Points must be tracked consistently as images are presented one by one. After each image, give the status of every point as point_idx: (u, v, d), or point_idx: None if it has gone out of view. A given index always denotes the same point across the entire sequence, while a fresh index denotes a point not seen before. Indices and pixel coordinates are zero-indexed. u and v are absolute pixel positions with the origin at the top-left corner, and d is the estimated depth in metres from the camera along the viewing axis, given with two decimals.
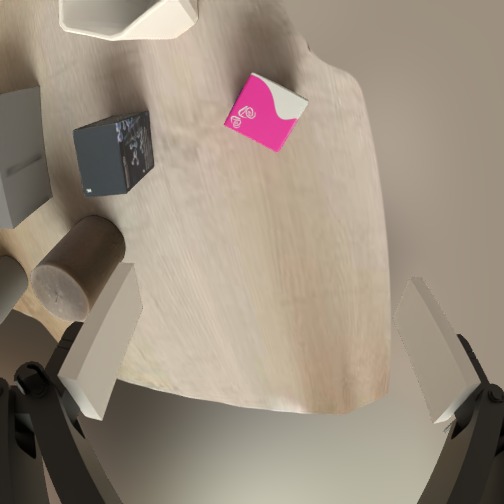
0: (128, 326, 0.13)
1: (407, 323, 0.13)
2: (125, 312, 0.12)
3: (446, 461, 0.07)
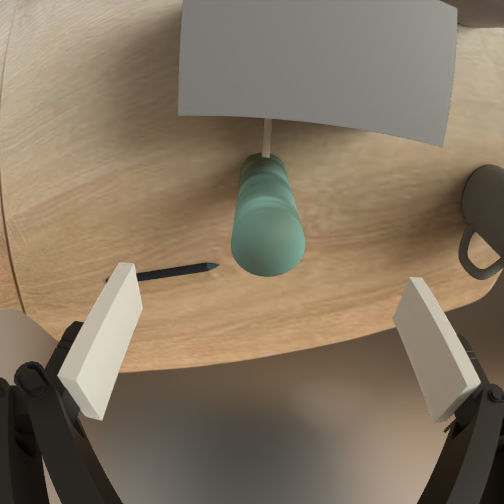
0: (128, 326, 0.13)
1: (407, 323, 0.13)
2: (125, 312, 0.12)
3: (446, 461, 0.07)
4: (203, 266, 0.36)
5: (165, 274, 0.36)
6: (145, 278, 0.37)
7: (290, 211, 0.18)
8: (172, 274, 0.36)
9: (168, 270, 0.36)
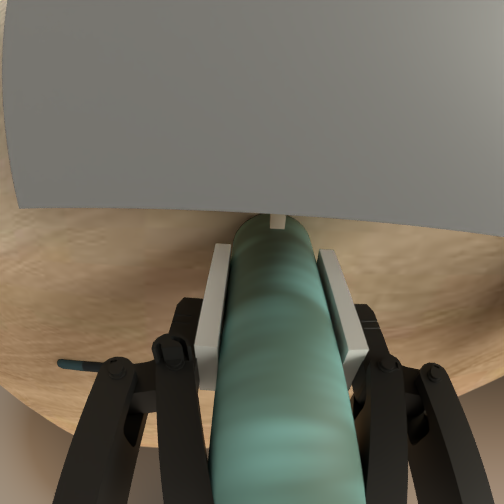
0: None
1: None
2: None
3: None
4: None
5: None
6: None
7: (346, 466, 0.06)
8: None
9: None
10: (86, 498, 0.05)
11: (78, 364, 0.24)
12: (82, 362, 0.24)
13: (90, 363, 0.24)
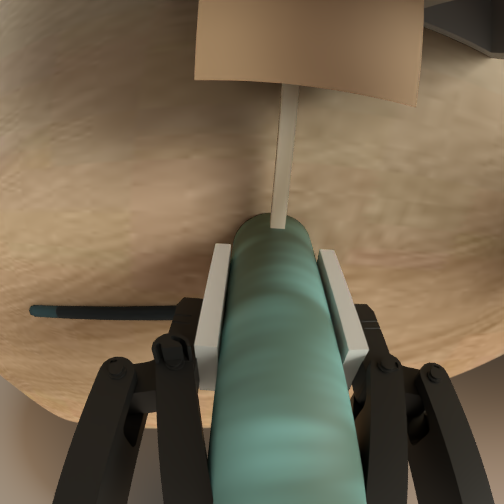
0: None
1: None
2: None
3: None
4: (174, 312, 0.20)
5: (111, 316, 0.20)
6: (81, 317, 0.20)
7: (346, 465, 0.06)
8: (122, 317, 0.20)
9: (116, 310, 0.20)
10: (86, 498, 0.05)
11: (51, 309, 0.21)
12: (57, 306, 0.21)
13: (65, 307, 0.21)
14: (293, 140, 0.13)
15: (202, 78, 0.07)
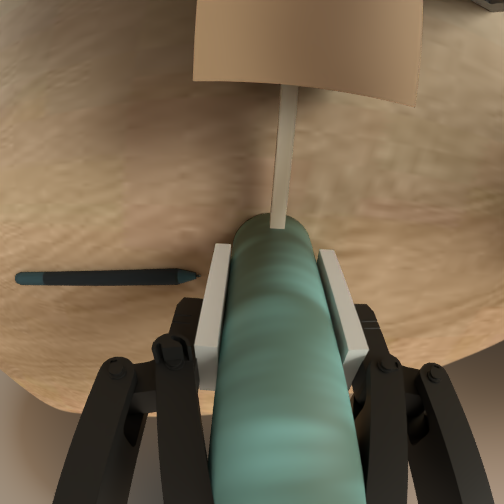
0: None
1: None
2: None
3: None
4: (170, 275, 0.18)
5: (101, 280, 0.18)
6: (69, 282, 0.19)
7: (346, 465, 0.06)
8: (113, 282, 0.18)
9: (107, 274, 0.19)
10: (86, 498, 0.05)
11: (38, 275, 0.19)
12: (44, 272, 0.19)
13: (53, 273, 0.19)
14: (292, 140, 0.13)
15: (201, 79, 0.07)
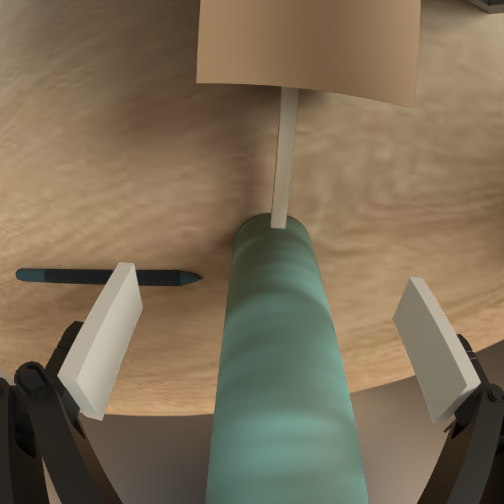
0: (128, 326, 0.13)
1: (407, 323, 0.13)
2: (124, 312, 0.12)
3: (446, 461, 0.07)
4: (172, 276, 0.19)
5: (103, 279, 0.19)
6: (71, 280, 0.19)
7: (346, 459, 0.06)
8: None
9: (109, 273, 0.19)
10: None
11: (40, 272, 0.19)
12: (45, 269, 0.19)
13: (54, 270, 0.19)
14: (293, 141, 0.13)
15: (204, 81, 0.07)
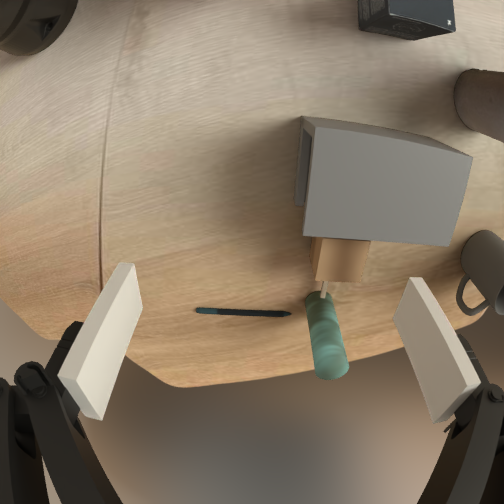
0: (128, 326, 0.13)
1: (407, 323, 0.13)
2: (124, 312, 0.12)
3: (446, 461, 0.07)
4: (280, 313, 0.50)
5: (250, 314, 0.50)
6: (233, 314, 0.50)
7: (343, 353, 0.37)
8: (256, 315, 0.50)
9: (253, 311, 0.50)
10: None
11: (214, 310, 0.50)
12: None
13: (223, 309, 0.50)
14: None
15: (316, 280, 0.38)
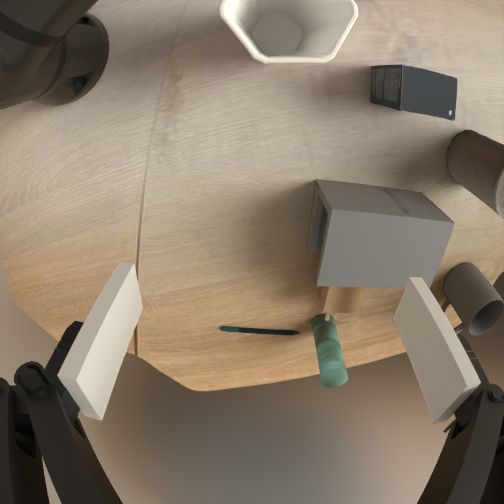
0: (128, 326, 0.13)
1: (407, 323, 0.13)
2: (124, 312, 0.12)
3: (446, 461, 0.07)
4: (291, 332, 0.59)
5: (266, 332, 0.59)
6: (252, 332, 0.59)
7: (343, 368, 0.46)
8: (271, 333, 0.59)
9: (269, 330, 0.59)
10: None
11: (236, 328, 0.59)
12: (238, 327, 0.59)
13: (243, 328, 0.59)
14: None
15: None
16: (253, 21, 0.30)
